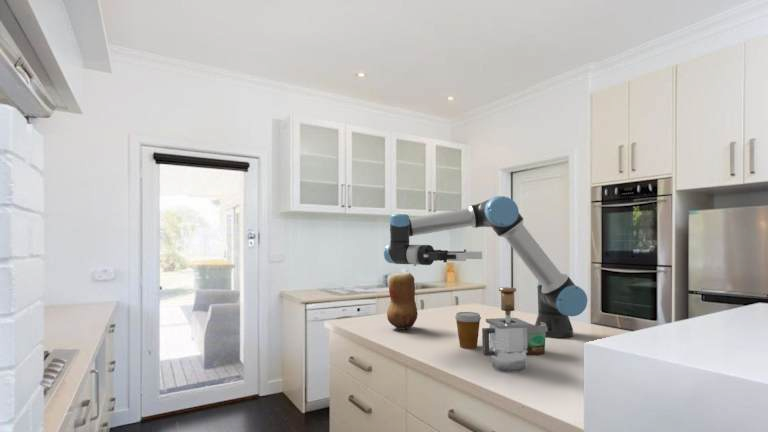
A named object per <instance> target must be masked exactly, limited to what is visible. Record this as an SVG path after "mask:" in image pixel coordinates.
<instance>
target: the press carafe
mask: <svg viewBox="0 0 768 432" xmlns="http://www.w3.org/2000/svg"><path fill="white" fill-rule="evenodd" d="M485 323H487V324H489V327H482V328H481V332H482V335H481V337H482V338H481V339H482V343H481V345H482V349H481V350H482V355H483V356H484V357H488V356H489V357H490V356H491V367H492V368H493V369H495V370H498V371H500V372H501V371H502V372H506V373H507V372H508V373H520V372H525V371H526V370H527V355H526V349H527V328H532V325H533V324H532V323H529V322H527V321H525V320H522V319H520V318H517V317H511V323H505V317H502V318H501V317H500V318H486V319H485ZM490 348H491V349H490Z"/></svg>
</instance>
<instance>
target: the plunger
mask: <svg viewBox="0 0 768 432" xmlns="http://www.w3.org/2000/svg"><path fill="white" fill-rule="evenodd" d="M498 291H499V292H500V308H501V309H500V310H501V311H504V312H505V313H504V314H505V316H504V318H505V323H511V318H512V317H511V313H512V312H515V292H517V288H516V287H510V286H509V287H508V286H507V287H503V286H502V287H498Z"/></svg>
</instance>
